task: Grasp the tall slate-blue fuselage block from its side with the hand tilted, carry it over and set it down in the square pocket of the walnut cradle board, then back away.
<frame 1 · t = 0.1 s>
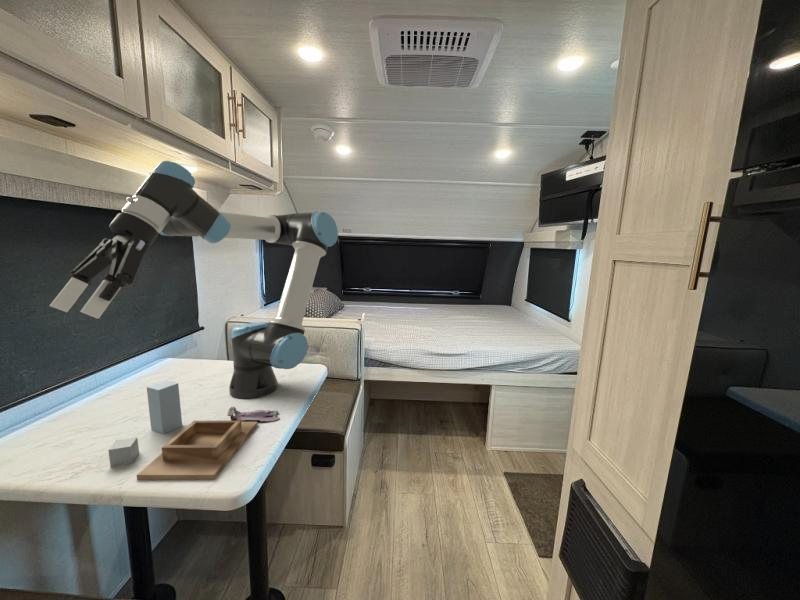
hand: (72, 312, 62), 36 cm above the table, fingers open, 13 cm apart
cradle: (205, 448, 80), on the table
grey block: (125, 459, 76), on the table
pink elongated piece: (254, 421, 94), on the table
fuselage block: (166, 427, 90), on the table
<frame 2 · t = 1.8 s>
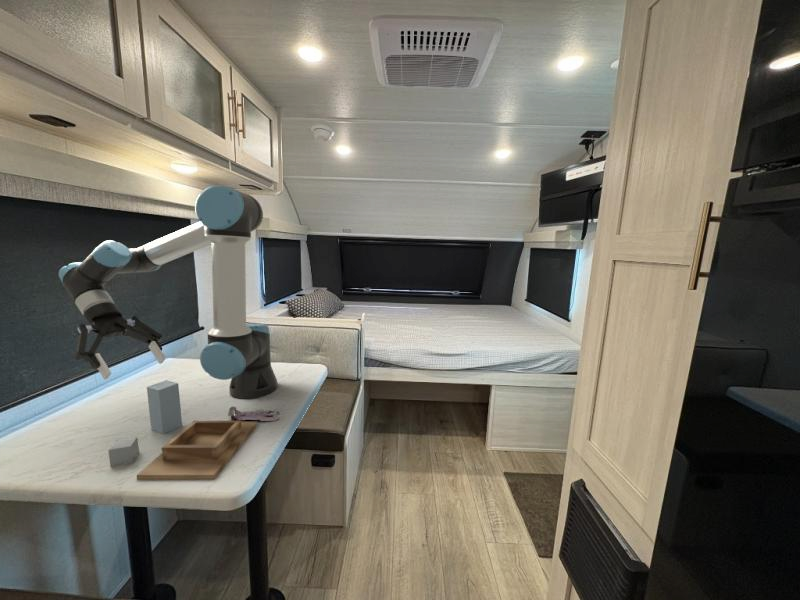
hand: (137, 368, 91), 15 cm above the table, fingers open, 13 cm apart
nothing on the table moved.
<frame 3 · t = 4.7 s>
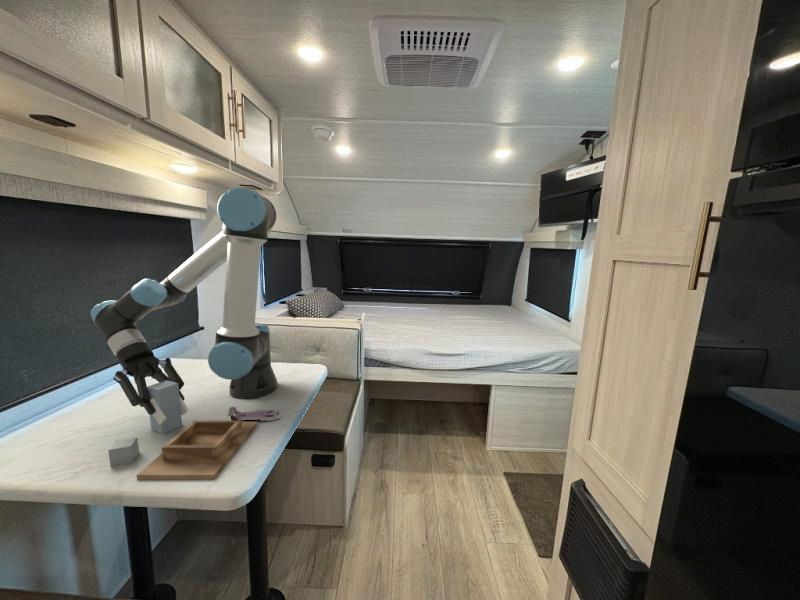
hand: (174, 416, 88), 4 cm above the table, fingers closed on fuselage block, 5 cm apart
fuselage block: (166, 427, 90), on the table, touching gripper
everything else where it was.
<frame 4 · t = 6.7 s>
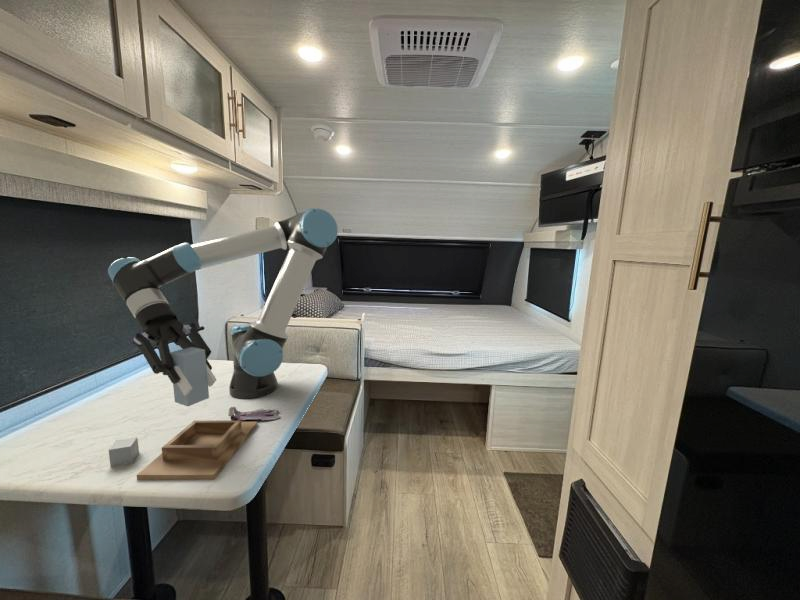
hand: (201, 387, 76), 16 cm above the table, fingers closed on fuselage block, 5 cm apart
fuselage block: (192, 399, 79), point 12 cm above the table, touching gripper
everything else where it was.
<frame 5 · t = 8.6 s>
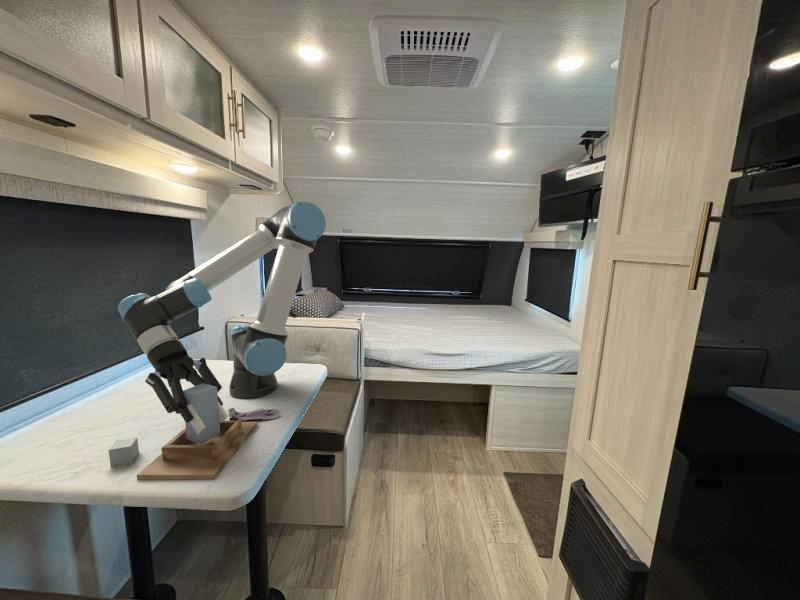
hand: (213, 424, 78), 7 cm above the table, fingers closed on fuselage block, 5 cm apart
fuselage block: (203, 436, 80), point 3 cm above the table, touching gripper
everything else where it was.
when the fingers open (7 cm above the table, at t = 8.9 s): fuselage block drops 2 cm, resting on cradle.
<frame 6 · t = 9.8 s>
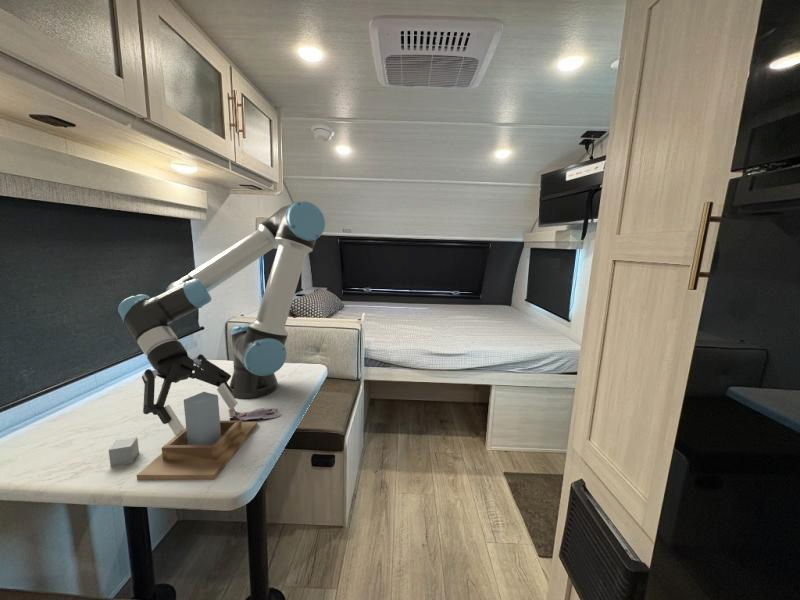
hand: (209, 418, 78), 8 cm above the table, fingers open, 13 cm apart
fuselage block: (204, 444, 80), point 1 cm above the table, touching cradle
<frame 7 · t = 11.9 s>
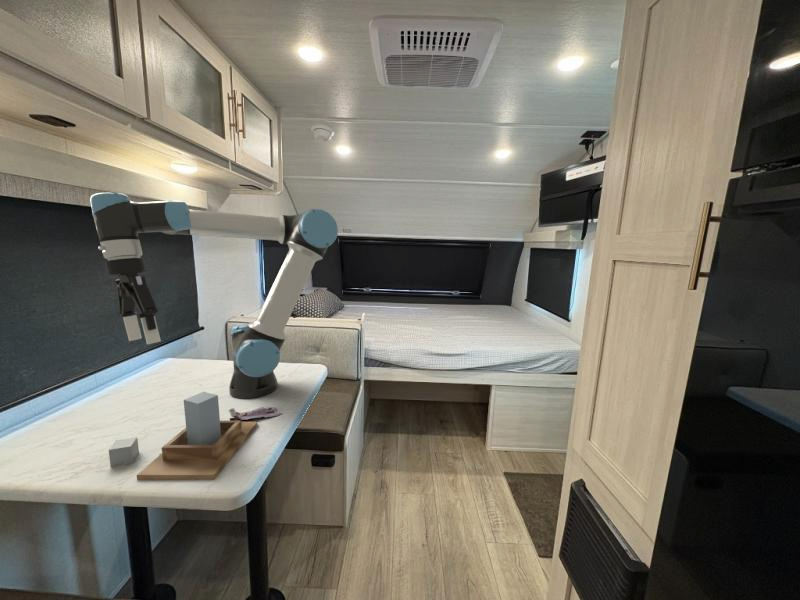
hand: (144, 341, 85), 24 cm above the table, fingers open, 13 cm apart
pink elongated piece: (256, 419, 95), on the table, touching cradle
everything else where it was.
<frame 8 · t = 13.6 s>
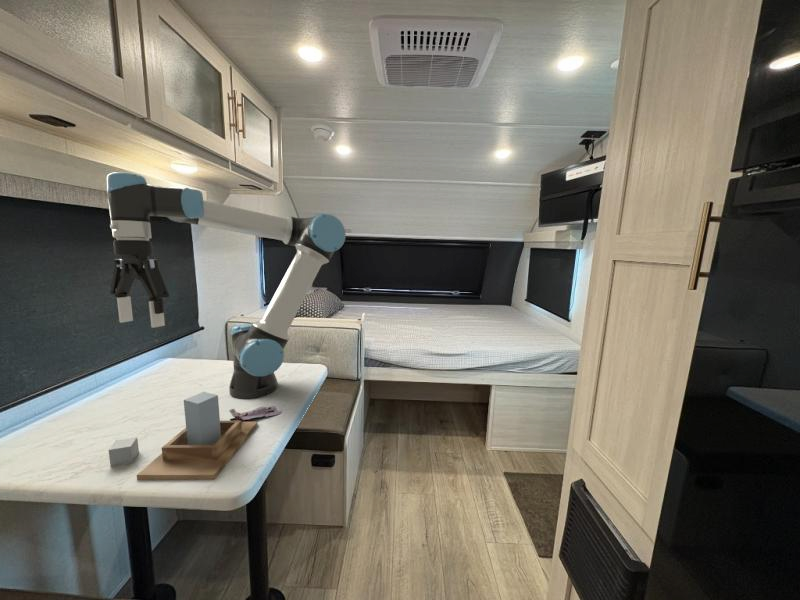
hand: (141, 324, 85), 29 cm above the table, fingers open, 13 cm apart
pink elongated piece: (256, 419, 96), on the table
everything else where it was.
at the end: fuselage block inside the target area on the cradle (0.1 cm from its centre), point 1.0 cm above the cradle's base; the gripper is holding nothing; grey block moved 0.1 cm from its start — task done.
